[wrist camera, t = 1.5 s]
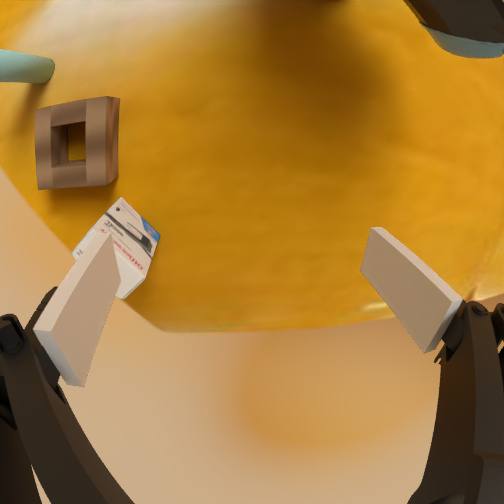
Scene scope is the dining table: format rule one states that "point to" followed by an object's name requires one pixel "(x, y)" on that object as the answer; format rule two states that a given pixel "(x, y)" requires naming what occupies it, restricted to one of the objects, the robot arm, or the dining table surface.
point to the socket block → (97, 143)
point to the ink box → (125, 244)
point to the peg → (24, 67)
